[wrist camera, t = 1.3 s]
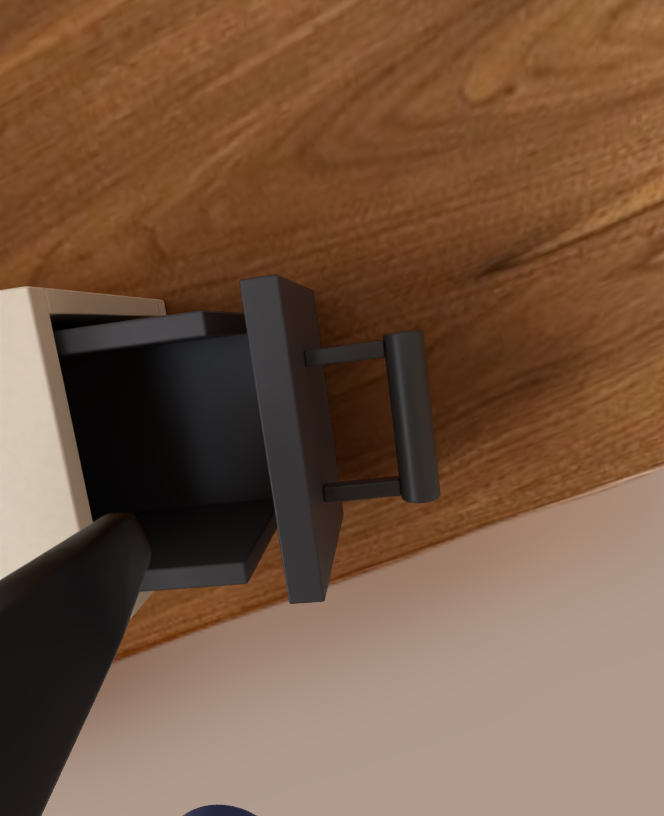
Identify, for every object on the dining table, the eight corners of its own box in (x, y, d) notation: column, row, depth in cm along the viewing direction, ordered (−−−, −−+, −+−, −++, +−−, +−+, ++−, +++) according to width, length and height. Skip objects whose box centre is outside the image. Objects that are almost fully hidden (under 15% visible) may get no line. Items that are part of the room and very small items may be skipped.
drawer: (409, 276, 22) (422, 252, 15) (434, 506, 24) (457, 593, 16) (51, 327, 24) (-102, 329, 17) (95, 537, 26) (-27, 627, 18)
